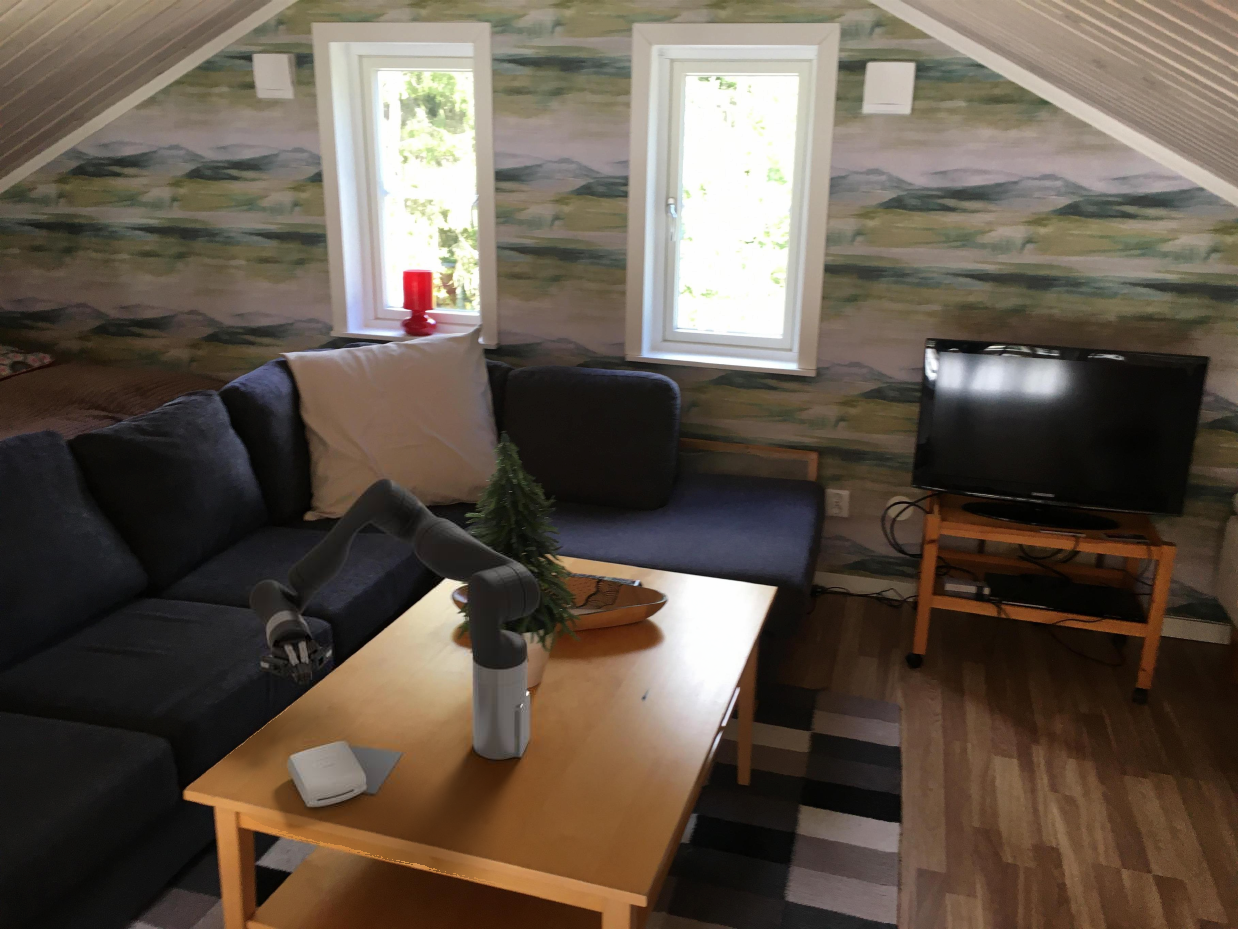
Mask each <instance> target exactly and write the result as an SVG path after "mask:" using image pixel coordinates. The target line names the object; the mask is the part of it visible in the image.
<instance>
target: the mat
mask: <svg viewBox="0 0 1238 929" xmlns="http://www.w3.org/2000/svg"><path fill="white" fill-rule="evenodd" d="M348 746H349V748H350V749H351V751H352V753H353V754H354V756H355V758H356V759H357V761H358V763H359V764H360V766H361V768H362V769H363V771H364V773H365V776H366V786H367V788H366V790H364V791H363V792H361V793H360V794H367V795H372V794H373V795H374V796H376V795H377V794H378V792H379V791H380V789H381V788H382V786H383V784H384V783H385V781H386V780H387V779H388V777H389V775H390V774H391V772H392V771H393V769H394V768H395V767H396V765H397V763H398V762H399V760H400V759H401V757H402V755H403V754H404V752H403V751H398V750H388V749H381V748H373V747H366V746H357V745H350V744H348ZM373 795H372V796H373Z"/></svg>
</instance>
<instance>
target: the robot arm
mask: <svg viewBox="0 0 1238 929" xmlns="http://www.w3.org/2000/svg"><path fill="white" fill-rule="evenodd" d="M370 523H371V524H372V525H374V526H375V527H376V528H378V529H380V530H381V531H382V532H384V533H385V534H386V535H389V536H392V537H393V538H395V539H397V540H399V541H402V542H403V543H405V544H407V545H409V546H411V547H412V548H413V551H414V553H415V556H416V557H417V559H418V560H419V561H420V562H421V563H422V564H424V565H425V566H426V567H427V568H428V569H430V570H431V571H432V572H434V573H435V574H436V575H438V576H440V577H442V578H445V579H448V580H451V581H456V582H461V583H466V584H467V587H466V599H467V600H466V601H467V613H468V615H467V616H468V631H469V632H468V633H469V639H470V640H469V641H470V645H471V651H472V652H471V653H472V721H473V722H472V723H473V724H472V727H473V730H472V732H473V734H472V740H473V750H474V752H476V753H477V754H478V755H479V756H481V757H483V758H486V759H490V760H506V759H507V760H508V759H511V758H522V757H523V755H524V752H525V750H526V748H527V745H528V744H529V742H530V738H531V736H530V732H531V725H530V724H531V707H530V706H531V691H528V643H527V641H526V639H525V638H524V637H523V636H522V635H521V634H519V633H516V632H514V631H510V630H507V629H501V626H500V624H501V623H505V622H508V621H512V620H515V619H518V618H522V617H525V618H526V616H529V615H531V614H532V613H533V612H534V611H535V610H536V609H537V608H538V607H539V604H540V601H541V589H540V586H539V584H538V581H537V580H536V578H535V576H534V575H533V573H532V572H531V571H530V570H529V569H528V568H527V567H526V566H525V565H523V564H522V563H520V562H518V561H517V560H514V559H513V558H511V557H508V556H506V555H504V554H501V553H499V552H497V551H495V550H494V549H492V548H491V547H489V546H487V545H486V544H484V543H483V542H481V541H480V540H478V539H477V538H475V537H474V536H472V535H471V534H470V533H468V532H467V531H466V530H464V529H463V528H461V527H460V526H458V525H457V524H456V523H455V522H452V521H450V520H449V519H447V518H443V517H438V516H436V515H434V514H433V512H431V511H430V509H428V508H427V507H426V505H424V503H422V501H421V500H420V499H419V498H418V497H417V496H415V495H414V494H413V493H411V492H410V491H409V490H408V489H405V488H404V487H403V486H401V484H399V483H398V482H396V481H394V480H392V479H391V478H381V479H379V480H377V481H375V482H373V483H372V484H371V485H370V486H369V487H367V488H366V489H365V490H364V491H363V492H362V494H361V495H360V496H359V497H358V498H357V499H356V500H355V502H353V504H352V505H351V506H350V507H349V509H348V510H347V511H346V512H345V513H344V514H343V515H342V517H340V519H339V520H338V521H337V523H336V524H335V525H334V526H333V527H332V529H331V530H330V531H329V532H328V533H327V535H325V537H324V538H322V540H321V541H320V542H319V543H318V544H317V545H316V546H314V547H313V548H312V549H311V550H309V552H308V553H307V554H305V555H304V556H303V557H302V558H300V560H299V561H297V562H296V563H295V564H294V565H292V566H291V567H290V569H289V570H288V572H287V579H288V582H289V584H290V586H291V587H292V588H293V589H294V591H295V593H294V592H293V591H291V590H290V589H288V588H287V587H286V586H284V585H283V584H281V583H280V582H278V581H276V580H275V579H264V580H262V581H261V580H260V582H258V583H257V584H256V585H255V586H254V587H253V588H252V590H251V592H250V595H249V606H250V610H251V611H252V613H253V614H254V615H255V616H256V617H257V619H258V620H259V621H260V622H261V623H262V625H263V626H264V629H265V632H266V639H267V645H268V646H269V649H270V653H269V655H267V654H263V655H260V657H259V658H260V669H261V671H265V672H268V673H270V674H273V675H277V676H280V677H282V678H283V677H288V676H290V675H292V676H293V678H294V681H295V682H296V683H299V684H300V685H305V684H309V683H310V681H312V679H313V674H312V673H313V672H317V671H319V670H320V669H321V668H322V667H323V666H324V665H325V664H327V663H328V662H329V661H330V660H331V659H332V657H333V656H332V644H329V643H326V644H324V645H323V646H319V644H318V643H317V642H315V640H314V639H313V636H312V634H311V632H310V629H309V626H308V624H307V622H306V620H304V618H303V616H302V613H303V612H304V610H305V608H306V607H307V605H308V604H309V603H310V602H311V600H312V599H313V598H314V597H315V595H316V594H317V592H318V591H320V590H321V589H322V588H324V586H326V585H327V584H328V583H329V582H331V580H333V579H334V578H335V577H336V576H337V575H339V573H340V572H341V570H342V568H343V567H344V565H345V563H346V561H347V558H348V555H349V551H350V548H351V545H352V542H353V541H354V538H355V536H356V534H357V533H358V532H359V531H360V530H361V529H362V528H364V527H365V526H366V525H368V524H370ZM312 671H313V672H312Z"/></svg>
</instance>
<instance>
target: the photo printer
mask: <svg viewBox="0 0 1238 929" xmlns="http://www.w3.org/2000/svg"><path fill="white" fill-rule="evenodd" d="M348 745H349V744H348V743H347V741H345V740H341V741H335V742H332V743H328V744H323V745H320V746H316V747H312V748H308V749H306V750H302V751H299V752H296V753H293V754H292V755H290V756H289V758H288V759H287V764H286V767H287V770H288V772H289V774H290V776H291V778H292V780H293V782H294V784H295V786H296V788H297V790H298V792H299V794H300V796H301V799H302V800H303V801H304V803H305V805H306V807H307V808H319V807H325V806H329V805H334V804H336V803H340V802H343V801H347V800H349V799H351V798H353V797H355V796H358V795H360V794H362V793H361V792H363V791H364V790H366V788H367V786H366V776H365V773H364V771H363V769H362V768H361V766H360V764H359V763H358V761H357V759H356V758H355V756H354V754H353V753H352V751H351V749H350V748H349V746H348Z"/></svg>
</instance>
